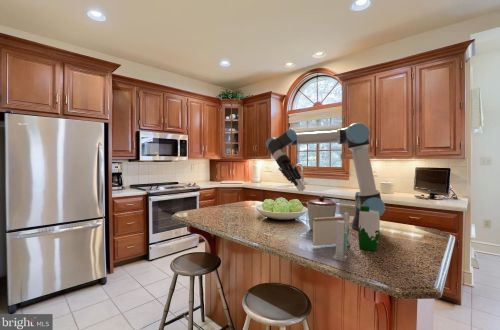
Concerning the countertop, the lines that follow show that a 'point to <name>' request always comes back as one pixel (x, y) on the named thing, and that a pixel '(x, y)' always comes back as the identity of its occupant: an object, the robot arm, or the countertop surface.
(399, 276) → the countertop surface
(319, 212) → the canister
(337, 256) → the gate frame
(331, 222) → the gate
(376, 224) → the milk carton
